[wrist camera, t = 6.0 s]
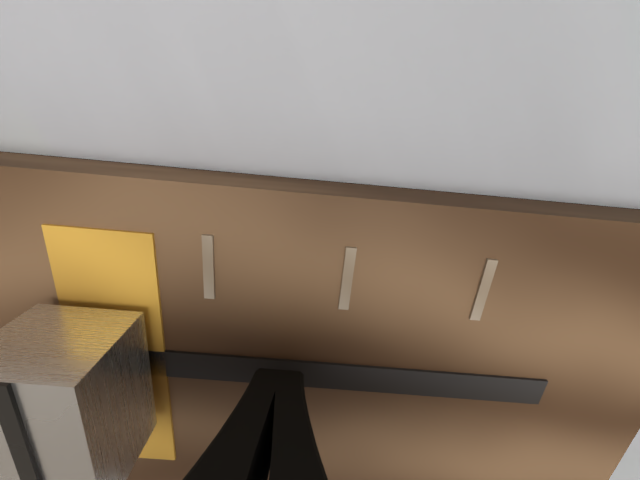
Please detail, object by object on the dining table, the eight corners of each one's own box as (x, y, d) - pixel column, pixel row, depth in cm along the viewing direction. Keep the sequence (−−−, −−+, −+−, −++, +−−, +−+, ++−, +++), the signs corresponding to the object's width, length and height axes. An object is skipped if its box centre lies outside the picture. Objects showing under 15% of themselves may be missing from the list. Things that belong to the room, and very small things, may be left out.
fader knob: (157, 423, 11) (102, 523, 8) (66, 416, 11) (-19, 515, 8) (143, 312, 9) (70, 391, 7) (38, 303, 9) (-80, 379, 7)
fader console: (555, 462, 15) (590, 514, 13) (-19, 421, 14) (-73, 470, 12) (681, 213, 11) (762, 235, 9) (-127, 140, 10) (-235, 145, 8)
